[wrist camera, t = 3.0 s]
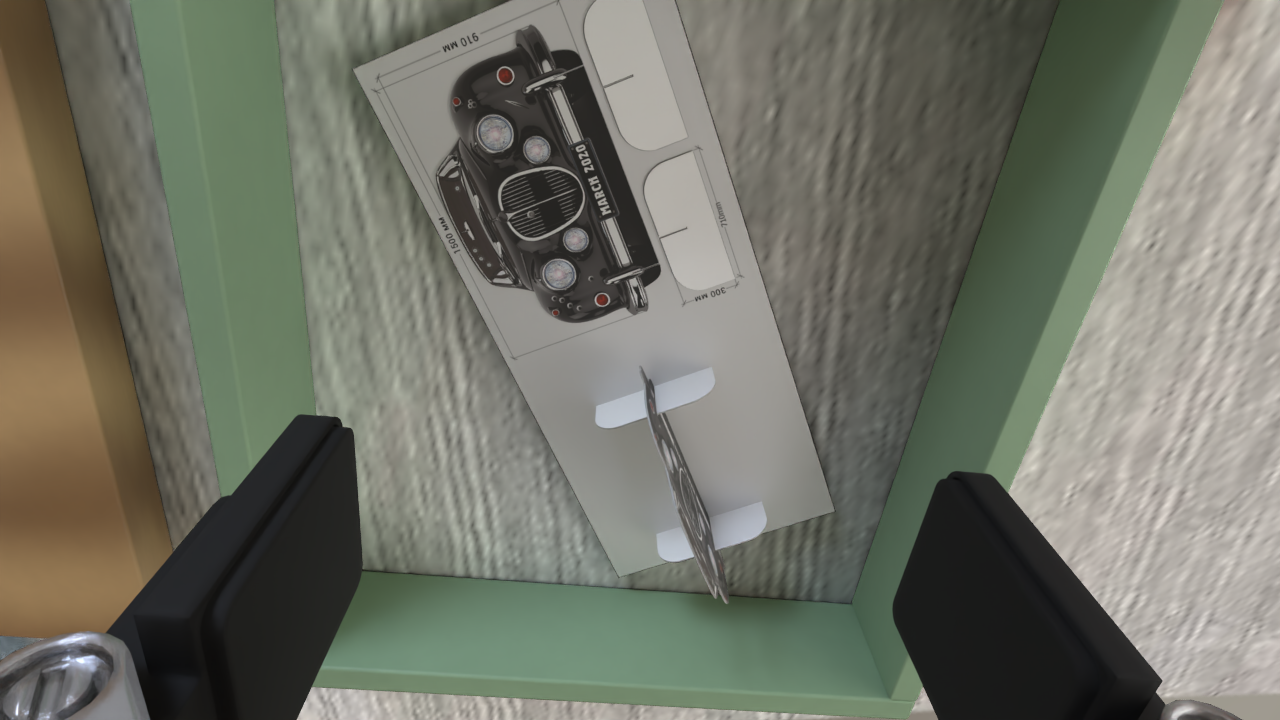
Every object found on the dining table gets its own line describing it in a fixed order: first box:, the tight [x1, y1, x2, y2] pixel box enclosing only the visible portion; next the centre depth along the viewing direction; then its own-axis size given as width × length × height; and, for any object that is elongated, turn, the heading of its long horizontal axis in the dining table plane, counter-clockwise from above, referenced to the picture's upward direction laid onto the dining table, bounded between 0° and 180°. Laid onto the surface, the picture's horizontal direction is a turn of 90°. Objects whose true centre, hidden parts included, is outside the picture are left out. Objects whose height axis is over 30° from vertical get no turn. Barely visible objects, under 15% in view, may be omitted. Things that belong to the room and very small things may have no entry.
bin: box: [129, 0, 1224, 719], centre depth 16 cm, size 20×18×4 cm
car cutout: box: [352, 0, 836, 604], centre depth 15 cm, size 15×7×4 cm, turn 21°
